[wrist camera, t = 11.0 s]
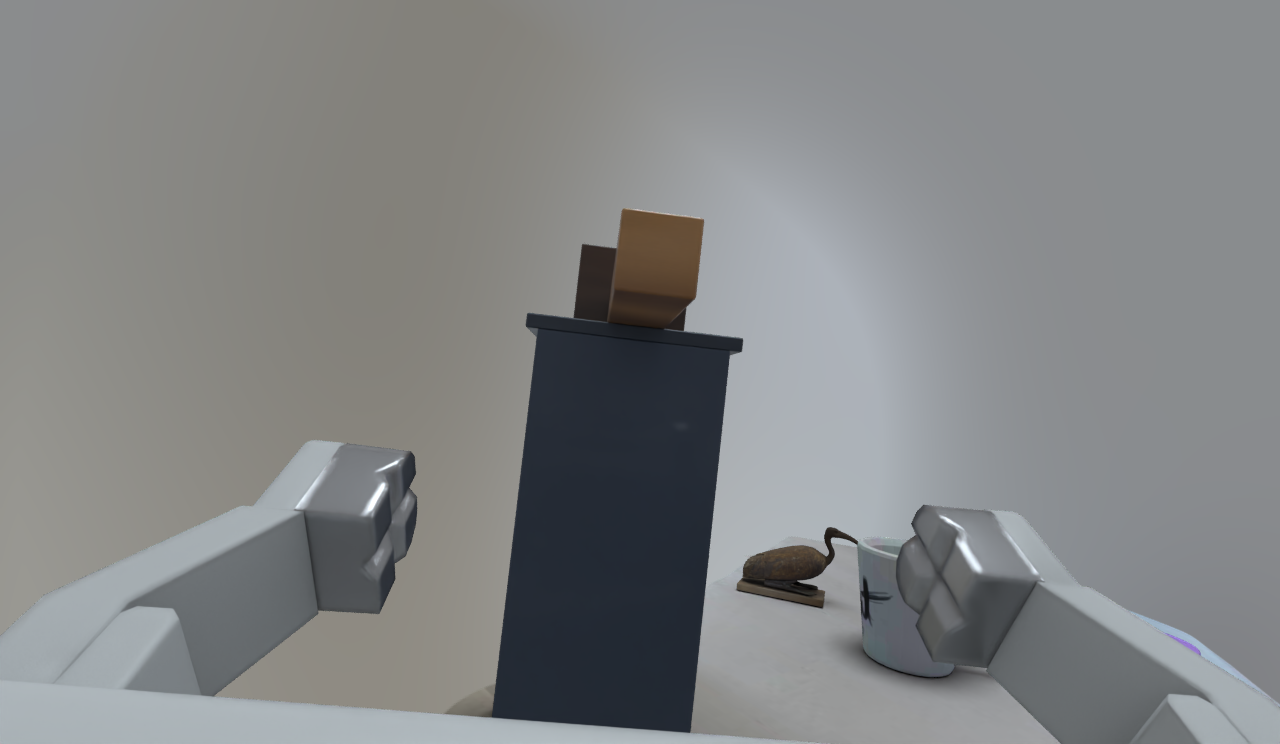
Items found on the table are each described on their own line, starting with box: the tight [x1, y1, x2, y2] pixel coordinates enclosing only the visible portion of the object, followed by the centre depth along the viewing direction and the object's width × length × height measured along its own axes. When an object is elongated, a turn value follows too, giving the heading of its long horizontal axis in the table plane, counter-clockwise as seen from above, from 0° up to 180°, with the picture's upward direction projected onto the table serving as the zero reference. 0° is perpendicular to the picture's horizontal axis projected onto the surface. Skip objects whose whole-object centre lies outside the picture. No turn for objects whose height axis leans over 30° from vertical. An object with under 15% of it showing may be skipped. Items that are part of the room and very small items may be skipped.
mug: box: [857, 537, 955, 677], centre depth 57 cm, size 10×15×10 cm
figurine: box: [737, 527, 858, 607], centre depth 74 cm, size 14×4×9 cm, turn 71°
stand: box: [492, 313, 743, 733], centre depth 34 cm, size 18×9×24 cm, turn 4°
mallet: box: [574, 208, 704, 331], centre depth 29 cm, size 21×6×5 cm, turn 4°
